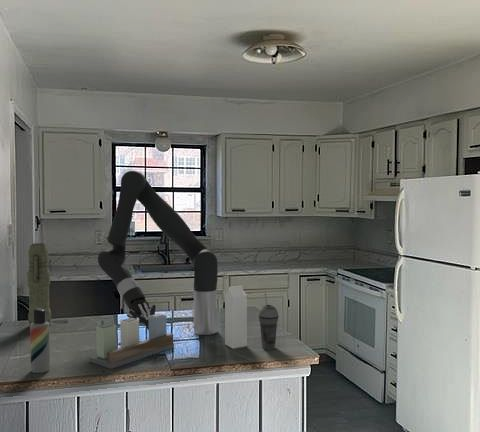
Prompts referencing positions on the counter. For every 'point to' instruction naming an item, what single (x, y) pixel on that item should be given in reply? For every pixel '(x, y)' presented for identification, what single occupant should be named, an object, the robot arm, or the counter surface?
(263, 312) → the beverage cup
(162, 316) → the key slate
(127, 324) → the key cream
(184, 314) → the counter surface
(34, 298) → the thermos
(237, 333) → the milk
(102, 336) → the key sage
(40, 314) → the lotion bottle
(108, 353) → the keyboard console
